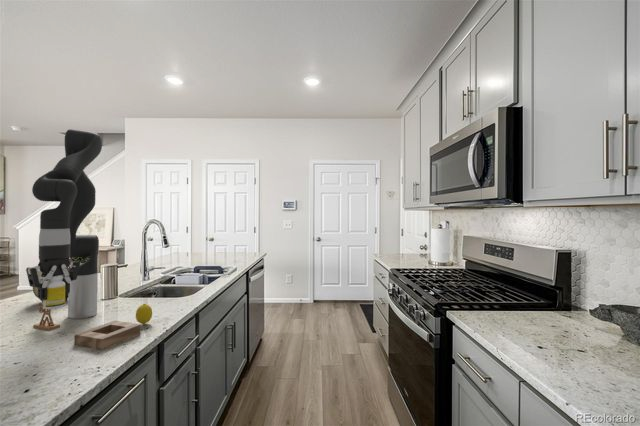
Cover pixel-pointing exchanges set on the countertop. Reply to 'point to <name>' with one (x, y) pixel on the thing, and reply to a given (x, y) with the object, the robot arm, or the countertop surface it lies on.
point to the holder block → (107, 335)
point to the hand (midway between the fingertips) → (54, 297)
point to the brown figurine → (43, 324)
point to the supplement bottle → (55, 293)
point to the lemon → (144, 314)
